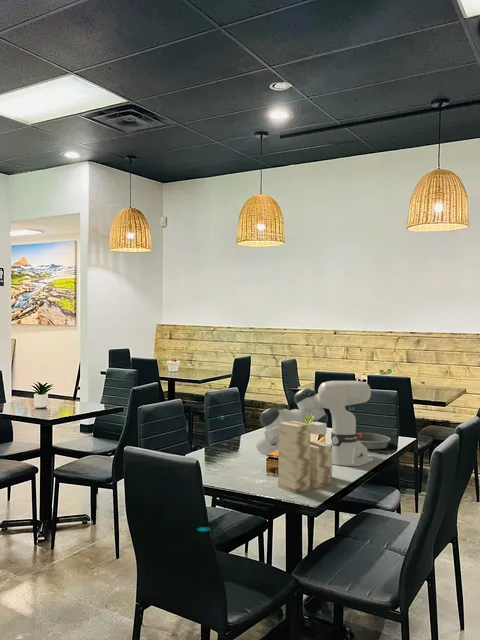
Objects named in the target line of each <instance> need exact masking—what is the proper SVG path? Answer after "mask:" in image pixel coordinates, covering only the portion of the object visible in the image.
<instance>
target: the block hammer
mask: <svg viewBox="0 0 480 640" xmlns="http://www.w3.org/2000/svg"><path fill="white" fill-rule="evenodd" d="M287 422H288V421H287ZM308 424H310V425H311V432H310V434H311V435H317V436H319V435H321V436H322V435H326V434H327V431H328V428H327V426H328V424H327V423H326V424H325V423H320V422H310V423H308Z"/></svg>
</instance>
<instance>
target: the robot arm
mask: <svg viewBox="0 0 480 640" xmlns="http://www.w3.org/2000/svg"><path fill="white" fill-rule="evenodd" d="M317 392H318V393H316V389H314V390H313V389H311V388H302V389H300V390H299V391H297V392H296V393H295V395H294V396H293V400H294V402H295V405H297V408H298V409H297V408H294V409H291V410H289V409H287V408H286V407H270V408H267V409H266V410H264V411H263V412H262V413H261V414H260V417H259V422H260V424H261V425H262V426H263V427H264V429H265V430H264V432H263V435H262V436H261V437H259V438H258V439H257V441H256V442H255V447H256V449H257V451H258V453H259V454H260V455H263V456H267V455H270V454H272V453H275V452H276V451H277V450H278V451H279V423H281V422H287V421H297V422H301V423H304V420H305V419H304V418H305V417H306V416H307V415H311V414H312V415H313V414H314V419H313V422H320V423H325V424H327V423H328V420H329V417H328V414H327V413H326V412H325V409H327V410H329V412H330V415H331V424H332V425H331V426H332V428H331V429H332V430H331V432H330V433H331V434H330V439H331V442H330V444H333V456H332V465H335V466H345V467H347V466H348V467H349V466H350V467H361V466H364V465H366V464H368V463H372V462H373V461H374V459H373V458H372V457H370V456H369V451H368V449H367V448H366V447H365V446H364V445H363V444H361V443H360V442H359V441H358V437H359V438H361V437H362V434H361V433H362V432H356V431H357V430H356V429H357V424H356V423H357V419H356V416H355V414H353V413H352V412H351V411H348V410H347V409H346V406H353V405H358V404H363V403H366V402H368V401H369V400H370V398H371V395H372V389H371V387H370V385H369V384H368V383H367V382H365V381H360V380H329V381H325V382H322V383H321V384H320V385H319V387H318V390H317ZM306 424H307V423H306ZM356 433H357V434H356Z"/></svg>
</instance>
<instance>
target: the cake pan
mask: <svg viewBox="0 0 480 640" xmlns="http://www.w3.org/2000/svg"><path fill="white" fill-rule="evenodd" d="M357 433H358V432H356V434H357ZM360 433H361V434H362V437H361V438H359V437H358V441H359V442H360V443H361V444H363V445H364V446H365V447H366V448H367V450H381V449H382V448H383V449H385V448H387V447H388V445H389V442H390V441H391V440H392V439H391V437H389V436H387V435H383V434H379V433H372V432H360Z"/></svg>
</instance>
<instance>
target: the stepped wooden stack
mask: <svg viewBox="0 0 480 640" xmlns="http://www.w3.org/2000/svg"><path fill="white" fill-rule="evenodd" d="M310 432H311V425H310V424H306V423H301V422H297V421H288V422H281V423H279V450H278V469H277V470H278V471H277V472H278V474H277V487H278V488H280V489H283V490H286V491H289V492H290V493H294V494H298V493H301V492H306V491H309V490H314V489H317V488H322V487H325V486H330V485H331V478H332V477H331V446H330V445H326V444H322V443H318V442H317V441H311V433H310Z"/></svg>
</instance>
